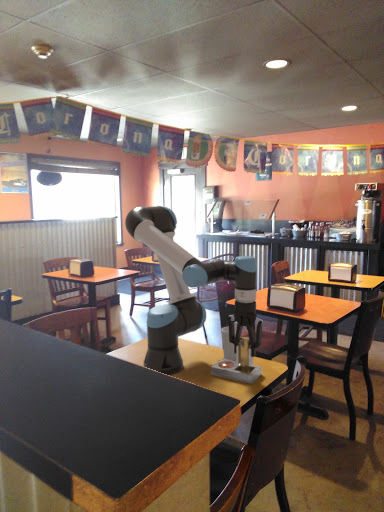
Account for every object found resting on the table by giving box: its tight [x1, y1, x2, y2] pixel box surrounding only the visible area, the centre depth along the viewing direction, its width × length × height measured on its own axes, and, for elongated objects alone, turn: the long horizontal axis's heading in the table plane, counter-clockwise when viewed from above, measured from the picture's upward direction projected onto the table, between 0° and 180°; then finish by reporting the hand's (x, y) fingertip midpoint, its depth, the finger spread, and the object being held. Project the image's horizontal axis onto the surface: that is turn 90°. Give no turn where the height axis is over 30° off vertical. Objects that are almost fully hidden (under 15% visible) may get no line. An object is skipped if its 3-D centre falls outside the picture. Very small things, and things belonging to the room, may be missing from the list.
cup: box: [221, 326, 242, 361], centre depth 159 cm, size 8×8×12 cm
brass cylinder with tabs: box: [239, 336, 251, 373], centre depth 141 cm, size 6×4×14 cm, turn 150°
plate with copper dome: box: [210, 358, 262, 385], centre depth 144 cm, size 16×9×3 cm, turn 60°
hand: (244, 363), depth 141 cm, fingers closed on brass cylinder with tabs, 4 cm apart
